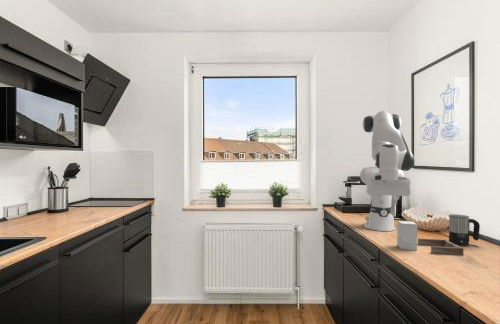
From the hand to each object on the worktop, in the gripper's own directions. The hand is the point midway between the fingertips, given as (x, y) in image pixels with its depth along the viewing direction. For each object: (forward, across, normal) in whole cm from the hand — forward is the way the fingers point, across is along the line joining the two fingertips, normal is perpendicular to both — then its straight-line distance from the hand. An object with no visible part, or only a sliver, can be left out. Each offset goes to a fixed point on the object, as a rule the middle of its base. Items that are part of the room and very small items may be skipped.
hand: (387, 204), depth 155 cm
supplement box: (+21, -10, 0) cm, 23 cm away
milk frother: (+21, -42, -17) cm, 51 cm away
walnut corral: (+21, -25, 0) cm, 33 cm away
